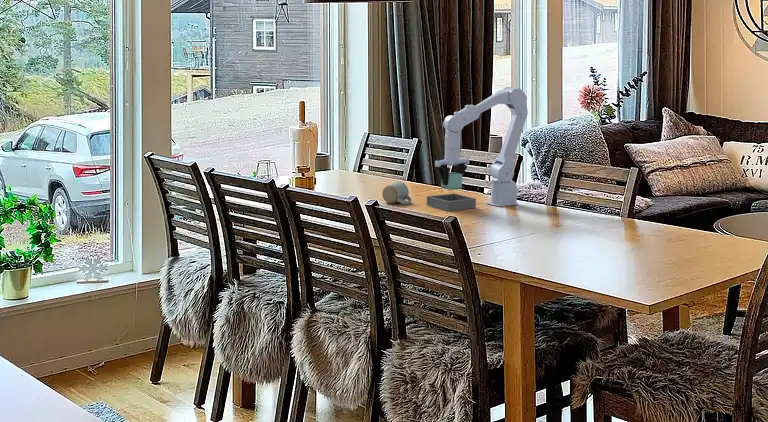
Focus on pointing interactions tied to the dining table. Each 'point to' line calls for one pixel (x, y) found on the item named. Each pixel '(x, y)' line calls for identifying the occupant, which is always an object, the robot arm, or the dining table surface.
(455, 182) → the small crate
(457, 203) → the big crate
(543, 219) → the dining table surface
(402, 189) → the ceramic mug
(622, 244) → the dining table surface
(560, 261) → the dining table surface
